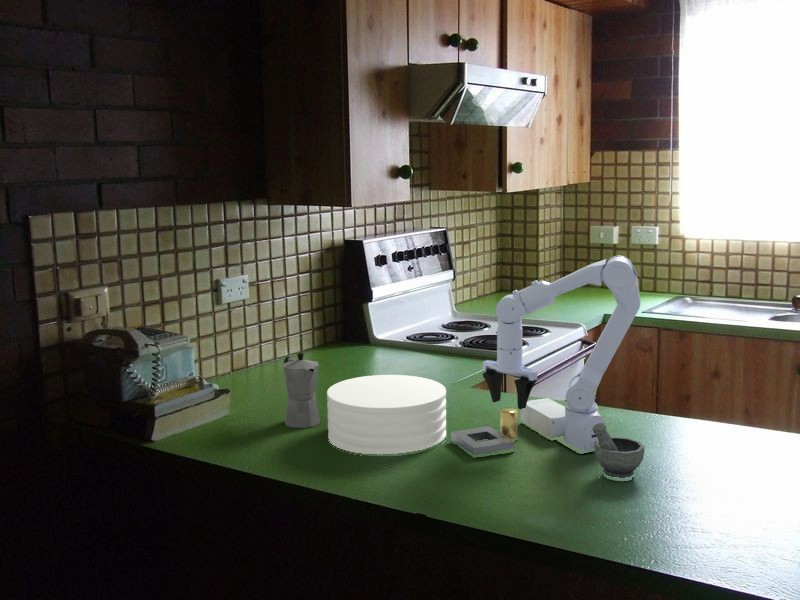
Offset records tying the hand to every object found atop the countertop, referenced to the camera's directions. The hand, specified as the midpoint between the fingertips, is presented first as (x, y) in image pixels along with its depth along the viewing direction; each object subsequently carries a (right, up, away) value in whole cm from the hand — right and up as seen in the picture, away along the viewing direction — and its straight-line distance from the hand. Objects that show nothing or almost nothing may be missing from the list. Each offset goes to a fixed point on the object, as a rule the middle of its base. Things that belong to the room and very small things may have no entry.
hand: (508, 404), depth 200 cm
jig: (-7, -9, -3) cm, 12 cm away
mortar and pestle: (+19, -13, -22) cm, 32 cm away
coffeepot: (-50, -7, +17) cm, 53 cm away
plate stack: (-28, -8, +5) cm, 30 cm away
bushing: (0, -8, +2) cm, 9 cm away
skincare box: (+8, -3, +14) cm, 17 cm away
